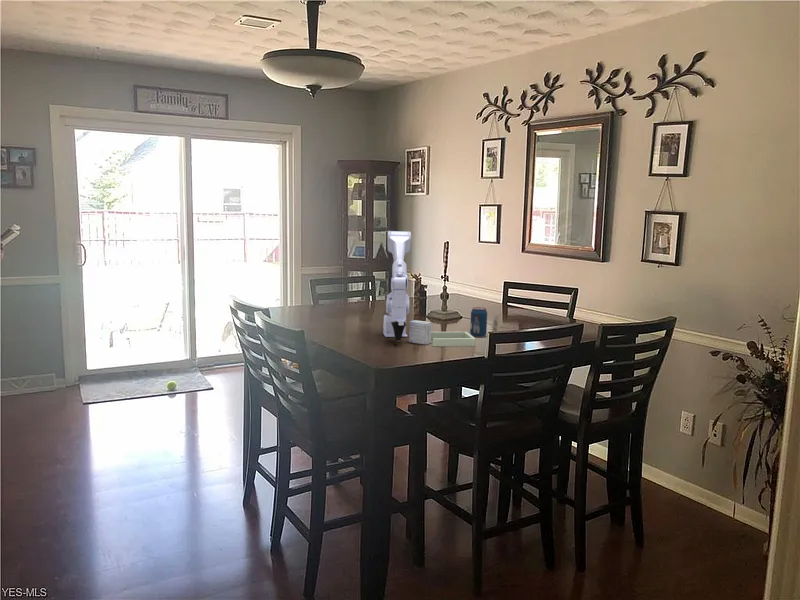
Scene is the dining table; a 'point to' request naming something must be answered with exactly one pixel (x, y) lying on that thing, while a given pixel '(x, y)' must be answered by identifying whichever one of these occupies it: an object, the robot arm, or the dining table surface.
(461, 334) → the bay
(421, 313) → the dining table surface
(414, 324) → the medicine box
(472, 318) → the soda can
